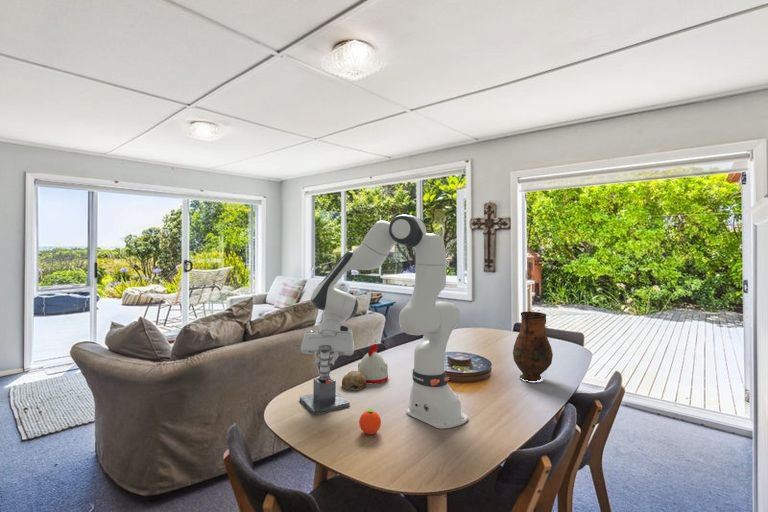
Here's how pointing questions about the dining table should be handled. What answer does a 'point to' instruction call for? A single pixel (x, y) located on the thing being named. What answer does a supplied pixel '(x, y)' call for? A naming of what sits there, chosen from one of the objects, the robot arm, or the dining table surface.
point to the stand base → (324, 398)
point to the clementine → (370, 422)
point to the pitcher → (532, 346)
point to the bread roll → (354, 380)
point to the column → (324, 362)
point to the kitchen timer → (373, 367)
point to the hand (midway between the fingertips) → (324, 364)
